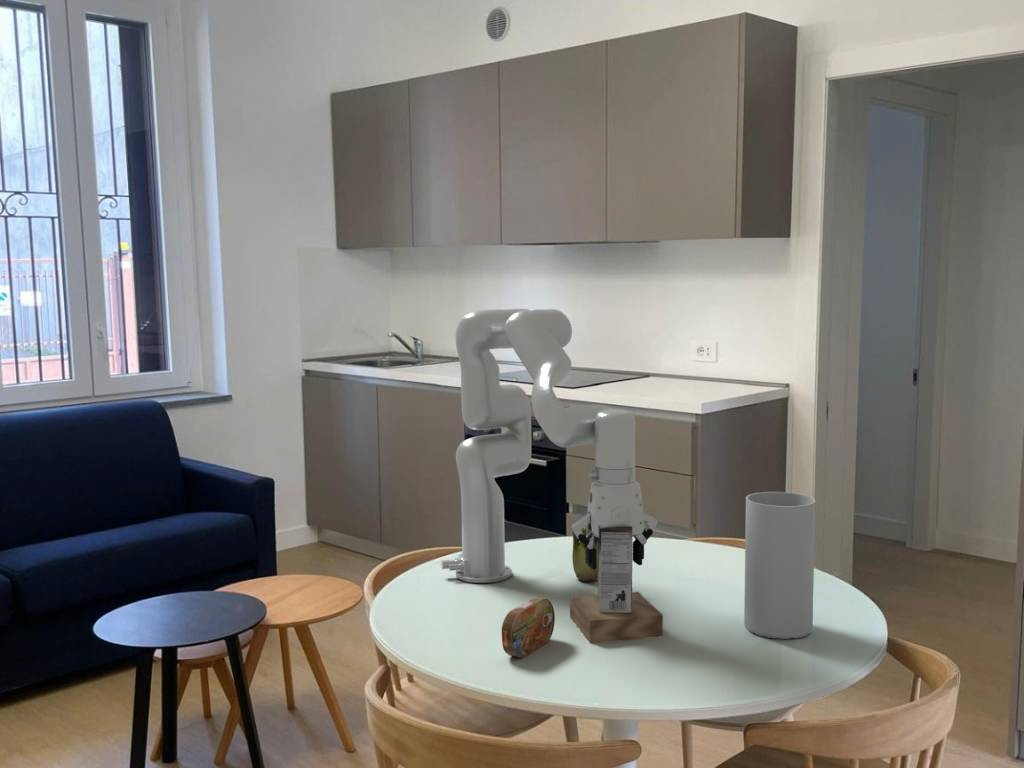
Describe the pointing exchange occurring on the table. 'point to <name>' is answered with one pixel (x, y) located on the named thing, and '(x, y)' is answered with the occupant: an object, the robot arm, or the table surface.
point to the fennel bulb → (583, 560)
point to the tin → (528, 627)
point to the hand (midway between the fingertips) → (614, 565)
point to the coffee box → (615, 569)
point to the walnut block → (616, 620)
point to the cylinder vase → (779, 564)
